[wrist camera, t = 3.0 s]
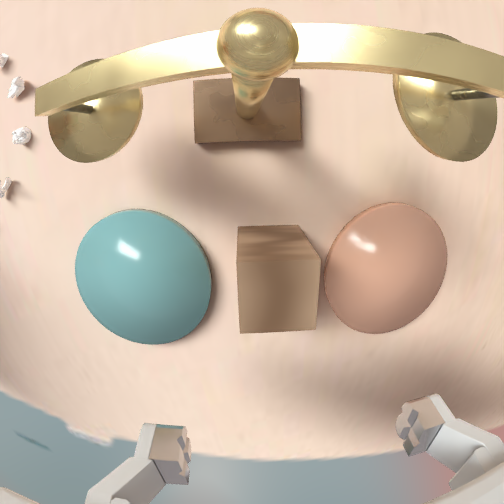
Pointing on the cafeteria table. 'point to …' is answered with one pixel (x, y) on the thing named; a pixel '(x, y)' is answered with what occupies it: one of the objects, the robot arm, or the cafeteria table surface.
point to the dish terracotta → (385, 267)
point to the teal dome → (143, 276)
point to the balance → (278, 85)
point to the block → (276, 279)
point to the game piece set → (22, 133)
